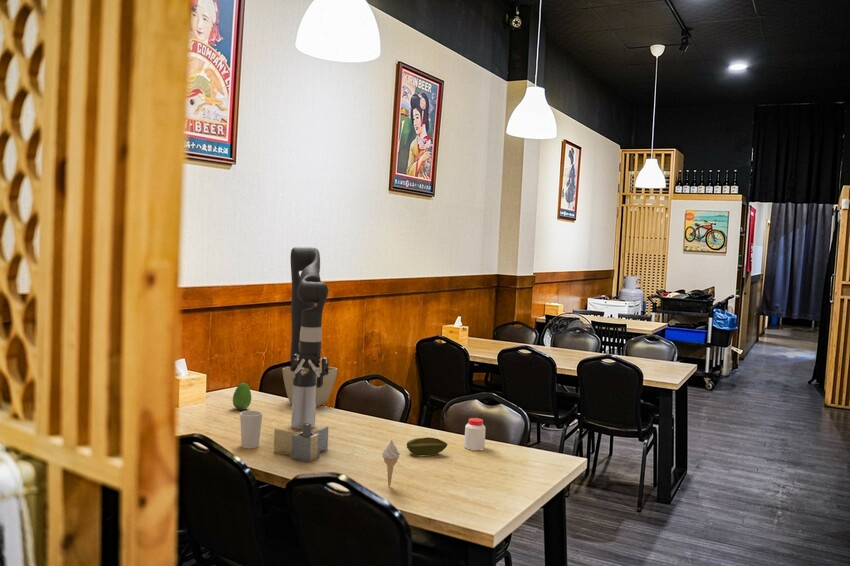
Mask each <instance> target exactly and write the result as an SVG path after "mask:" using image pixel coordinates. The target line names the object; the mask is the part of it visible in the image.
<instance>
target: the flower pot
mask: <svg viewBox="0 0 850 566" xmlns="http://www.w3.org/2000/svg"><path fill="white" fill-rule="evenodd" d="M320 366H321V368H322V365H320ZM290 368H291V366H287V367H283V368H282V378H283V383H284V388H285V392H286V395H287V399H288V402H289V404H290V405H292V396H293V379H294V378H295V372H293V371H291V370H290ZM308 371H309V369H308V368H304V369H303V370H302V372H301V373H302V375H303V374H305V373H307V372H308ZM337 375H338V368H337V367H331V366H329V374H328V375H325V376H324V377H323V385H322V387H320V388H317V377H318V376H317V374H316V394H315V402H316V408H317V407H320V406H323V405H326V404H327V403H328V401H329V398H330V396H331V393H332V391H333V388H334V386H335V385H334V384H335V382H336V378H337Z"/></svg>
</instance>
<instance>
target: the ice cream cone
mask: <svg viewBox="0 0 850 566" xmlns="http://www.w3.org/2000/svg"><path fill="white" fill-rule="evenodd" d="M400 454H401V453H400V452H399V451H398V448H397V447H396V445H395V444H394V442H393V440H392V439H391V440H390V442H389V444H388V445H387V446H386V448H384V450H383V451H382V453H381V455H382V458H383V462H384V463H385V464H386V468H387V469H386V471H387V486H388V487H389V486H390V487H391V483H392V477H393V472H394V467H395V465H396V464H397V463H398V461H399V458H400Z"/></svg>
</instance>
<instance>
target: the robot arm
mask: <svg viewBox="0 0 850 566" xmlns="http://www.w3.org/2000/svg"><path fill="white" fill-rule="evenodd" d="M300 272H301V273H300ZM320 272H321V255H320V251H319V249H318V248H317V247H314V246H313V247H312V246H310V247H309V246H299V247H298V246H297V247H296V246H295V247H292V248H291V250H290V275H291V276H290V277H291V300H290V301H291V305H290V308H291V309H290V310H291V311H290V315H291V316H290V320H291V340H290V357H289V358H290V359H289V360H290V367H291V368H290V370H291V371H293V372H295V378H294V379H293V396H292V404H291V422H290V424H291V426H290V427H291V428H292V429H297V430H302V428H303V424H305V423H309V424H311V429H313V428H315V426H316V412H317V410H316V409H317V407H316V402H315V394H316V374H317V376H318V377H317V388H320V387H322V385H323V377H324V376H325V375H328V374H329V367H330V366H329V358H328V357H321V353H322V341H323V340H322V338H323V336H322V335H323V331H322V330H323V329H322V326H323V325H322V322H323V319H322V318H323V312H324V307H325V305H326V304H325V303H326V301H327V298H328V296H329V295H328V294H329V286H328V285H327V283H325V282H322V280H321V276H320ZM321 366H322V368H321ZM304 368H308V369H309V371H308V372H307V373H305V374H303V375H302V373H301V372H302V370H303V369H304Z"/></svg>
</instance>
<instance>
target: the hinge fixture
mask: <svg viewBox="0 0 850 566" xmlns="http://www.w3.org/2000/svg"><path fill="white" fill-rule="evenodd" d="M328 442H329V426H328V425H327V426H323V427H321V428H318V429H316V430H314V431H311V436H309V437H306V436H302V431H300V432H298V431H297V432H296V431H291V430H286V429H282V428H277V427H276V428H274V432H273V453H277V454H282V455H286V456H290V457H291V460H293V461H294V460H295V461H298V462H303V463H304V462H305V463H310V462H312V461H314V460H316V459H319V458H320V453H322V452H325V451H326V450H328V448H329V447H328V446H329V443H328Z"/></svg>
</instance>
